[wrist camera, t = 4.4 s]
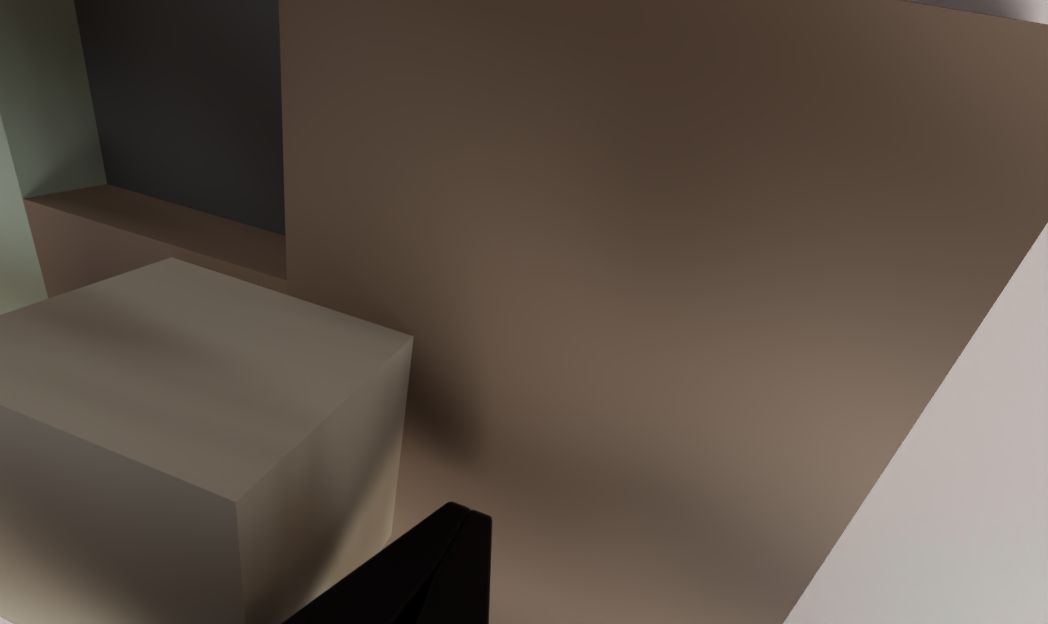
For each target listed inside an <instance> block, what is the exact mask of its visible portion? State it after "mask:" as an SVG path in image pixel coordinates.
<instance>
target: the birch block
mask: <svg viewBox="0 0 1048 624" xmlns="http://www.w3.org/2000/svg"><path fill="white" fill-rule="evenodd" d="M413 338H414V336H411V335H408V334H405V333H402V332H399V331H396V330H393V329H390V328H387V327H384V326H381V325H378V324H374V323H371V322H368V321H365V320H362V319H359V318H356V317H353V316H350V315H347V314H344V313H341V312H338V311H335V310H332V309H329V308H326V307H323V306H319V305H316V304H313V303H310V302H307V301H304V300H301V299H298V298H295V297H292V296H289V295H286V294H283V293H280V292H277V291H274V290H271V289H268V288H264V287H261V286H258V285H255V284H252V283H249V282H246V281H243V280H240V279H237V278H234V277H231V276H228V275H225V274H222V273H219V272H216V271H213V270H209V269H206V268H203V267H200V266H197V265H194V264H191V263H188V262H185V261H182V260H179V259H176V258H173V257H171V258H168V259H165V260H162V261H159V262H156V263H153V264H150V265H147V266H144V267H141V268H138V269H135V270H132V271H129V272H126V273H123V274H120V275H117V276H114V277H111V278H108V279H105V280H103V281H100V282H97V283H94V284H91V285H88V286H85V287H82V288H79V289H76V290H73V291H70V292H67V293H64V294H61V295H58V296H55V297H52V298H49V299H46V300H43V301H40V302H37V303H34V304H31V305H28V306H25V307H22V308H19V309H16V310H13V311H10V312H7V313H4V314H1V315H0V617H2V618H4V619H6V620H8V621H10V622H12V623H14V624H281V623H282V622H284V621H285V620H286V619H288V618H289V617H290V616H292V615H293V614H295V613H296V612H297V611H299V610H300V609H301V608H303V607H304V606H306V605H307V604H308V603H310V602H311V601H312V600H314V599H315V598H317V597H318V596H319V595H321V594H322V593H323V592H325V591H326V590H328V589H329V588H330V587H332V586H333V585H334V584H336V583H337V582H339V581H340V580H341V579H343V578H344V577H345V576H347V575H348V574H350V573H351V572H352V571H354V570H355V569H356V568H358V567H359V566H361V565H362V564H363V563H365V562H366V561H367V560H369V559H370V558H372V557H373V556H374V555H376V554H377V553H378V552H380V551H381V550H382V548H383V547H384V545H385V544H386V542H387V541H388V539H389V538H390V536H391V533H392V524H393V516H394V507H395V498H396V489H397V480H398V471H399V462H400V454H401V445H402V436H403V427H404V418H405V409H406V400H407V392H408V383H409V374H410V365H411V356H412V347H413Z"/></svg>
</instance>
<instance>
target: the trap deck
mask: <svg viewBox="0 0 1048 624" xmlns="http://www.w3.org/2000/svg"><path fill="white" fill-rule="evenodd" d="M1047 222H1048V25H1047V24H1040V23H1034V22H1028V21H1022V20H1016V19H1010V18H1004V17H998V16H992V15H986V14H980V13H974V12H968V11H962V10H956V9H950V8H943V7H937V6H931V5H925V4H919V3H913V2H907V1H901V0H0V315H1V314H4V313H7V312H10V311H13V310H16V309H19V308H22V307H25V306H28V305H31V304H34V303H37V302H40V301H43V300H46V299H49V298H52V297H55V296H58V295H61V294H64V293H67V292H70V291H73V290H76V289H79V288H82V287H85V286H88V285H91V284H94V283H97V282H100V281H103V280H105V279H108V278H111V277H114V276H117V275H120V274H123V273H126V272H129V271H132V270H135V269H138V268H141V267H144V266H147V265H150V264H153V263H156V262H159V261H162V260H165V259H168V258H171V257H173V258H176V259H179V260H182V261H185V262H188V263H191V264H194V265H197V266H200V267H203V268H206V269H209V270H213V271H216V272H219V273H222V274H225V275H228V276H231V277H234V278H237V279H240V280H243V281H246V282H249V283H252V284H255V285H258V286H261V287H264V288H268V289H271V290H274V291H277V292H280V293H283V294H286V295H289V296H292V297H295V298H298V299H301V300H304V301H307V302H310V303H313V304H316V305H319V306H323V307H326V308H329V309H332V310H335V311H338V312H341V313H344V314H347V315H350V316H353V317H356V318H359V319H362V320H365V321H368V322H371V323H374V324H378V325H381V326H384V327H387V328H390V329H393V330H396V331H399V332H402V333H405V334H408V335H411V336H414V338H413V347H412V356H411V365H410V374H409V383H408V392H407V400H406V409H405V418H404V427H403V436H402V445H401V454H400V462H399V471H398V480H397V489H396V498H395V507H394V516H393V524H392V533H391V536H390V538H389V539H388V541H387V542H386V544H385V545H384V547H383V548H382V549H384V548H385V547H387V546H388V545H389V544H391V543H392V542H393V541H395V540H396V539H398V538H399V537H400V536H402V535H403V534H404V533H406V532H407V531H409V530H410V529H411V528H413V527H414V526H415V525H417V524H418V523H420V522H421V521H422V520H424V519H425V518H426V517H428V516H429V515H431V514H432V513H433V512H435V511H436V510H437V509H439V508H440V507H442V506H443V505H444V504H446V503H447V502H451V501H452V502H456V503H458V504H461V505H464V506H466V507H468V508H470V509H471V510H477V511H479V512H482V513H485V514H487V515H490V516H491V517H492V550H491V579H490V607H489V624H783V622H784V621H785V619H786V618H787V616H788V615H789V613H790V612H791V610H792V609H793V607H794V606H795V604H796V603H797V601H798V600H799V598H800V597H801V595H802V594H803V592H804V591H805V589H806V588H807V586H808V585H809V583H810V582H811V580H812V579H813V577H814V576H815V574H816V572H817V571H818V569H819V568H820V566H821V565H822V563H823V562H824V560H825V559H826V557H827V556H828V554H829V553H830V551H831V550H832V548H833V547H834V545H835V544H836V542H837V541H838V539H839V538H840V536H841V535H842V533H843V532H844V530H845V529H846V527H847V525H848V524H849V522H850V521H851V519H852V518H853V516H854V515H855V513H856V512H857V510H858V509H859V507H860V506H861V504H862V503H863V501H864V500H865V498H866V497H867V495H868V494H869V492H870V491H871V489H872V488H873V486H874V485H875V483H876V482H877V480H878V479H879V477H880V475H881V474H882V472H883V471H884V469H885V468H886V466H887V465H888V463H889V462H890V460H891V459H892V457H893V456H894V454H895V453H896V451H897V450H898V448H899V447H900V445H901V444H902V442H903V441H904V439H905V438H906V436H907V435H908V433H909V432H910V430H911V429H912V427H913V425H914V424H915V422H916V421H917V419H918V418H919V416H920V415H921V413H922V412H923V410H924V409H925V407H926V406H927V404H928V403H929V401H930V400H931V398H932V397H933V395H934V394H935V392H936V391H937V389H938V388H939V386H940V385H941V383H942V382H943V380H944V379H945V377H946V375H947V374H948V372H949V371H950V369H951V368H952V366H953V365H954V363H955V362H956V360H957V359H958V357H959V356H960V354H961V353H962V351H963V350H964V348H965V347H966V345H967V344H968V342H969V341H970V339H971V338H972V336H973V335H974V333H975V332H976V330H977V329H978V327H979V325H980V324H981V322H982V321H983V319H984V318H985V316H986V315H987V313H988V312H989V310H990V309H991V307H992V306H993V304H994V303H995V301H996V300H997V298H998V297H999V295H1000V294H1001V292H1002V291H1003V289H1004V288H1005V286H1006V285H1007V283H1008V282H1009V280H1010V279H1011V277H1012V275H1013V274H1014V272H1015V271H1016V269H1017V268H1018V266H1019V265H1020V263H1021V262H1022V260H1023V259H1024V257H1025V256H1026V254H1027V253H1028V251H1029V250H1030V248H1031V247H1032V245H1033V244H1034V242H1035V241H1036V239H1037V238H1038V236H1039V235H1040V233H1041V232H1042V230H1043V229H1044V227H1045V225H1046V224H1047Z"/></svg>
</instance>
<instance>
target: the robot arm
mask: <svg viewBox="0 0 1048 624" xmlns="http://www.w3.org/2000/svg"><path fill="white" fill-rule="evenodd" d="M491 550H492V517H491V516H490V515H487V514H485V513H482V512H479V511H477V510H471V509H470V508H468V507H466V506H464V505H461V504H458V503H456V502H452V501H451V502H447V503H446V504H444V505H443V506H442V507H440V508H439V509H437V510H436V511H435V512H433V513H432V514H431V515H429V516H428V517H426V518H425V519H424V520H422V521H421V522H420V523H418V524H417V525H415V526H414V527H413V528H411V529H410V530H409V531H407V532H406V533H404V534H403V535H402V536H400V537H399V538H398V539H396V540H395V541H393V542H392V543H391V544H389V545H388V546H387V547H385V548H384V549H382V550H381V551H380V552H378V553H377V554H376V555H374V556H373V557H372V558H370V559H369V560H367V561H366V562H365V563H363V564H362V565H361V566H359V567H358V568H356V569H355V570H354V571H352V572H351V573H350V574H348V575H347V576H345V577H344V578H343V579H341V580H340V581H339V582H337V583H336V584H334V585H333V586H332V587H330V588H329V589H328V590H326V591H325V592H323V593H322V594H321V595H319V596H318V597H317V598H315V599H314V600H312V601H311V602H310V603H308V604H307V605H306V606H304V607H303V608H301V609H300V610H299V611H297V612H296V613H295V614H293V615H292V616H290V617H289V618H288V619H286V620H285V621H284V622H282V623H281V624H489V607H490V579H491Z"/></svg>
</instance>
